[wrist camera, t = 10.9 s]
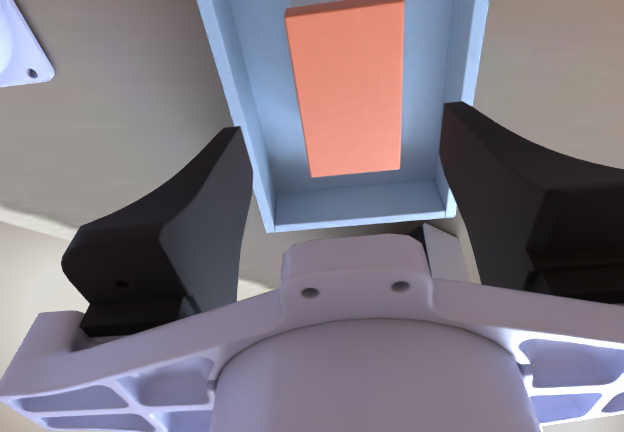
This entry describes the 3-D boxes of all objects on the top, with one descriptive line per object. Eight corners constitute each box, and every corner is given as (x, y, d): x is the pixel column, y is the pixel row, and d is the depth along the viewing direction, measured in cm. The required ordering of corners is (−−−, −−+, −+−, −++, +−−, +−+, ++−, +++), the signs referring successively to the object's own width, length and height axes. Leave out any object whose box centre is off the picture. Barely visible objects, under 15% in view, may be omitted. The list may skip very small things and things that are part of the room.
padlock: (405, 287, 34) (446, 502, 23) (364, 270, 32) (387, 492, 21) (463, 240, 30) (546, 475, 19) (419, 219, 28) (483, 460, 17)
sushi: (311, 132, 23) (310, 178, 20) (289, -16, 18) (283, 16, 15) (389, 124, 23) (400, 169, 19) (389, -30, 17) (404, -1, 14)
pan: (270, 195, 27) (266, 233, 24) (180, -148, 15) (152, -144, 13) (441, 179, 26) (455, 217, 23) (486, -203, 14) (523, -211, 12)
